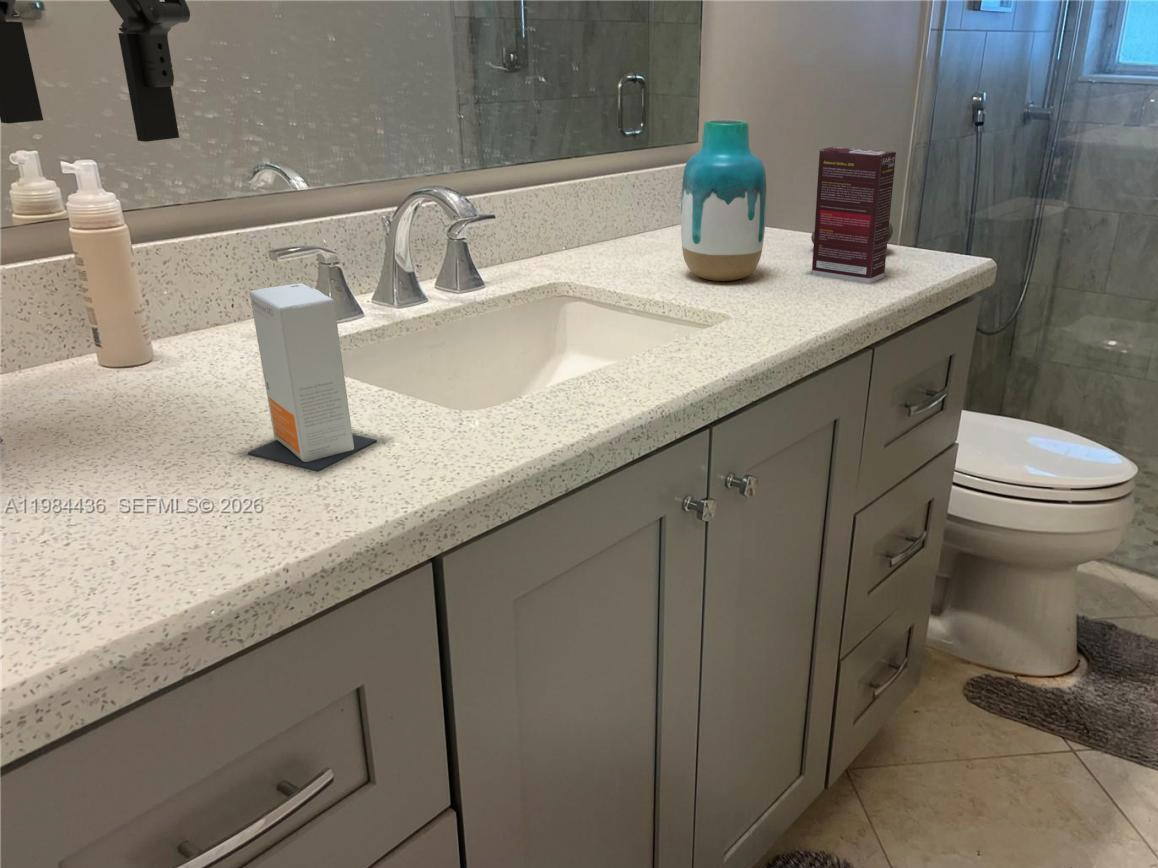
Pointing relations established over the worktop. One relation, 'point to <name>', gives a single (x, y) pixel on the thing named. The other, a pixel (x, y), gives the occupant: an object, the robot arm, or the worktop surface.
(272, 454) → the mat
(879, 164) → the supplement box
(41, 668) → the worktop surface
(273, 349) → the cosmetic box
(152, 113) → the robot arm
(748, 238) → the vase
